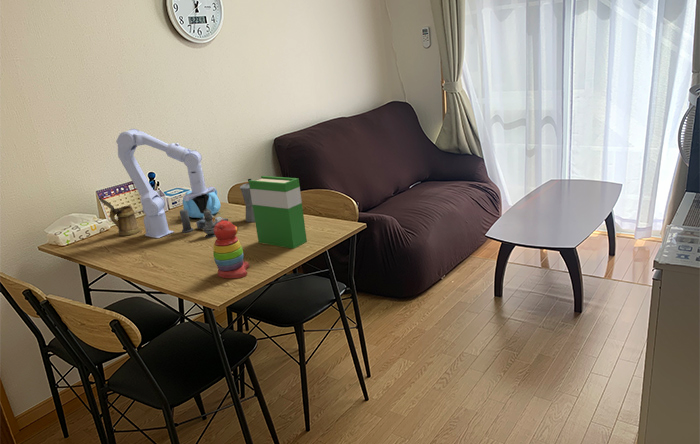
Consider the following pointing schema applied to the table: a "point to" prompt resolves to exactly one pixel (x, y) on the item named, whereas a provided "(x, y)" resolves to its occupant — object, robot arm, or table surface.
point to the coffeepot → (248, 202)
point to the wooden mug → (123, 219)
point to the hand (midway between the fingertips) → (203, 212)
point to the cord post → (185, 221)
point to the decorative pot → (194, 211)
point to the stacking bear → (228, 251)
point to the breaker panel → (215, 220)
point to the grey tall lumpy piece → (208, 224)
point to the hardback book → (278, 211)
